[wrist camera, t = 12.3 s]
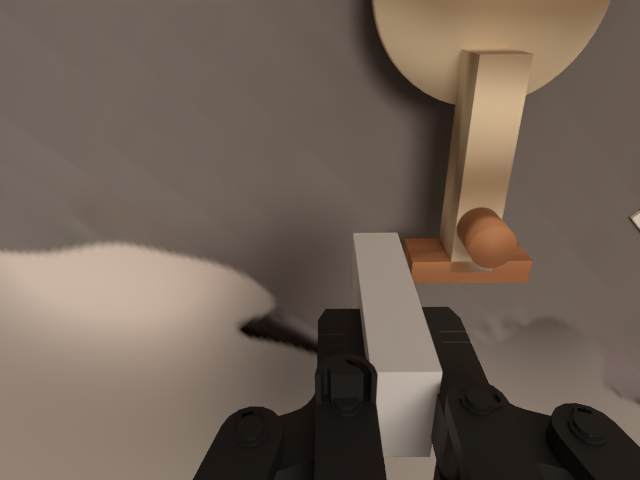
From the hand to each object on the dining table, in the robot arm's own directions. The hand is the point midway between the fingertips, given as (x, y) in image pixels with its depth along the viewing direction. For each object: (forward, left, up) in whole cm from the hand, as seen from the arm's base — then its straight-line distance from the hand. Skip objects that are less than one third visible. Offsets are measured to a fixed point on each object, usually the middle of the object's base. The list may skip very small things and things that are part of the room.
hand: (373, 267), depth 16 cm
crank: (+7, +4, -14) cm, 16 cm away
